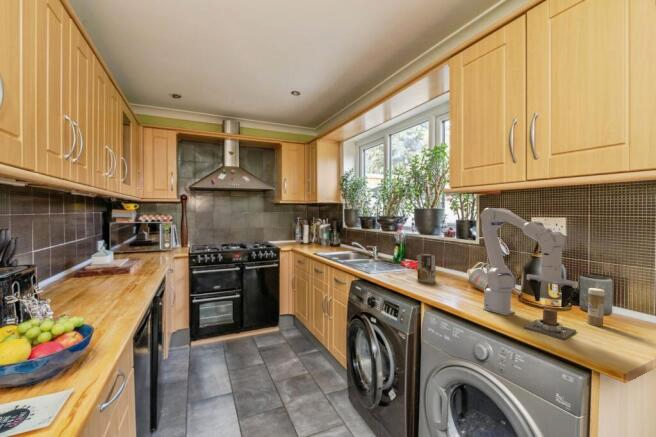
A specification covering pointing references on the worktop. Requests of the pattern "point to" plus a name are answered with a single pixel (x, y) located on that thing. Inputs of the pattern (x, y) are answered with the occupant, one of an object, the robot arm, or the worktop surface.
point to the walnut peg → (550, 317)
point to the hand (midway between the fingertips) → (550, 303)
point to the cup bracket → (550, 329)
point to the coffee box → (426, 268)
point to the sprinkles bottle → (596, 306)
